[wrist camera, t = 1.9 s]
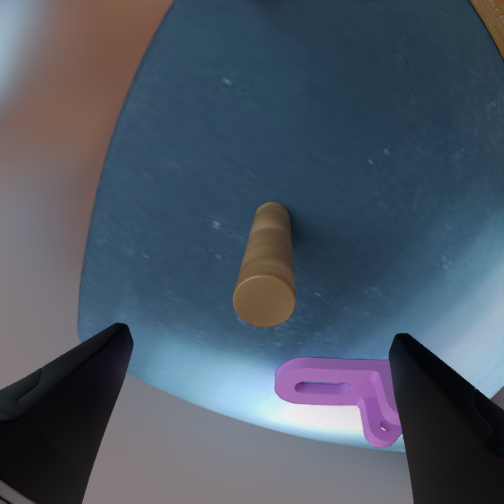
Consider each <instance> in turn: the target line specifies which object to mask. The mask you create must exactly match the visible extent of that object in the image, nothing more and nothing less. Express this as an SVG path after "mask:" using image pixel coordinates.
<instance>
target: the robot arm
mask: <svg viewBox="0 0 504 504" xmlns="http://www.w3.org/2000/svg"><path fill="white" fill-rule="evenodd" d="M132 350H133V339H132V336H131V333H130V330H129V327H128V326H127V324H123V323H115V324H113V325H111V326H110V327H108V328H106V329H105V330H103V331H101V332H100V333H98V334H96V335H95V336H93V337H91V338H90V339H88V340H86V341H85V342H83V343H81V344H80V345H78V346H77V347H75V348H73V349H71V350H70V351H68V352H66V353H65V354H63V355H61V356H60V357H58V358H56V359H55V360H53V361H51V362H50V363H48V364H46V365H45V366H43V367H42V368H40V369H38V370H37V371H35V372H33V373H32V374H30V375H28V376H27V377H25V378H23V379H21V380H19V381H17V382H15V383H13V384H11V385H9V386H7V387H5V388H3V389H1V390H0V504H82V501H83V498H84V494H85V491H86V488H87V484H88V481H89V477H90V474H91V471H92V468H93V464H94V462H95V459H96V456H97V453H98V449H99V447H100V444H101V441H102V438H103V435H104V432H105V430H106V427H107V424H108V422H109V419H110V416H111V413H112V411H113V408H114V406H115V403H116V400H117V398H118V395H119V392H120V390H121V387H122V385H123V381H124V378H125V375H126V371H127V368H128V364H129V361H130V357H131V354H132ZM389 362H390V369H391V376H392V384H393V391H394V397H395V402H396V406H397V411H398V415H399V420H400V424H401V429H402V434H403V439H404V444H405V449H406V454H407V460H408V466H409V472H410V479H411V486H412V493H413V500H414V504H504V410H503V409H502V408H500V407H499V406H498V405H496V404H495V403H493V402H492V401H491V400H490V399H489V398H487V397H486V396H485V395H484V394H482V393H481V392H480V391H479V390H478V389H476V388H475V387H474V386H473V385H471V384H470V383H469V382H468V381H467V380H465V379H464V378H463V377H462V376H461V375H459V374H458V373H457V372H456V371H454V370H453V369H452V368H451V367H450V366H448V365H447V364H446V363H445V362H443V361H442V360H441V359H440V358H438V357H437V356H436V355H435V354H433V353H432V352H431V351H430V350H428V349H427V348H426V347H425V346H423V345H422V344H421V343H420V342H418V341H417V340H416V339H414V338H413V337H412V336H411V335H409V334H408V333H399V334H396V335H395V337H394V340H393V343H392V346H391V348H390V351H389Z"/></svg>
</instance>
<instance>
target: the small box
mask: <svg viewBox="0 0 504 504" xmlns="http://www.w3.org/2000/svg"><path fill="white" fill-rule="evenodd" d="M470 2H471V3H472V5H473V6H474V8H475V9H476V11H477V12H478V14H479V15H480V17H481V19H482V20H483V22H484V23H485V25H486V27H487V29H488V30H489V32H490V34H491V36H492V37H493V39H494V41H495V43H496V45H497V47H498V49H499V51H500V53H501V55H502V57H503V59H504V0H470Z"/></svg>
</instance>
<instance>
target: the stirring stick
mask: <svg viewBox="0 0 504 504" xmlns="http://www.w3.org/2000/svg"><path fill="white" fill-rule="evenodd" d="M233 306H234V308H235V310H236V312H237V314H238V315H239V316H240V317H241V318H242V319H243V320H244V321H246V322H247V323H249V324H251V325H254V326H258V327H273V326H277V325H279V324H281V323H283V322H285V321H286V320H287V319H288V318H289V317H290V316H291V315H292V313H293V312H294V310H295V306H296V292H295V277H294V262H293V249H292V237H291V225H290V215H289V212H288V211H287V209H286V208H285V207H284V206H283V205H281V204H279V203H276V202H268V203H265V204H263V205H262V206H260V207H259V208H258V210H257V211H256V213H255V217H254V221H253V224H252V228H251V232H250V235H249V239H248V242H247V246H246V250H245V253H244V257H243V261H242V264H241V268H240V272H239V276H238V279H237V283H236V287H235V290H234V294H233Z"/></svg>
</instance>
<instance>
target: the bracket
mask: <svg viewBox="0 0 504 504" xmlns="http://www.w3.org/2000/svg"><path fill="white" fill-rule="evenodd" d="M303 381H308V382H328V383H343V384H317V383H301V382H303ZM274 388H275V392H276V394H277V395H278V396H279V397H280V398H281V399H283V400H285V401H287V402H290V403H295V404H309V405H356V406H358V407H359V408H360V413H361V419H362V425H363V430H364V436H365V438H366V440H367V441H368V442H369V443H370V444H371V445H373V446H375V447H379V448H385V447H389V446H391V445H392V444H393V443H394V442H395V441H396V440H397V439H398V438H399V437H400V435H401V434H402V429H401V424H400V420H399V415H398V411H397V406H396V402H395V397H394V391H393V384H392V376H391V369H390V362H389V360H351V359H329V358H314V357H301V358H295V359H292V360H289V361H287V362H285V363H284V364H282V365H281V366H280V367H279V368H278V369H277V371H276V374H275V387H274ZM381 427H382V428H384V429H386V431H384V430H382V429H381Z"/></svg>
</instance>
